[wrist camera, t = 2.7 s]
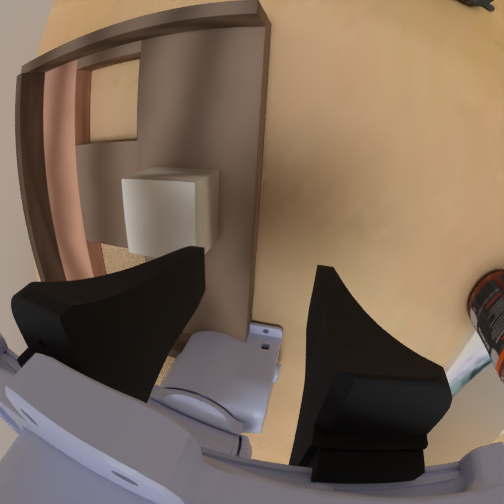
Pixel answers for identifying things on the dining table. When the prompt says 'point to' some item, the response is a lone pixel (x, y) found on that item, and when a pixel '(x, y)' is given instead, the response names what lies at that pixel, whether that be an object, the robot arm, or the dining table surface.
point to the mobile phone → (480, 3)
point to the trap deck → (150, 144)
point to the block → (170, 209)
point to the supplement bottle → (490, 317)
